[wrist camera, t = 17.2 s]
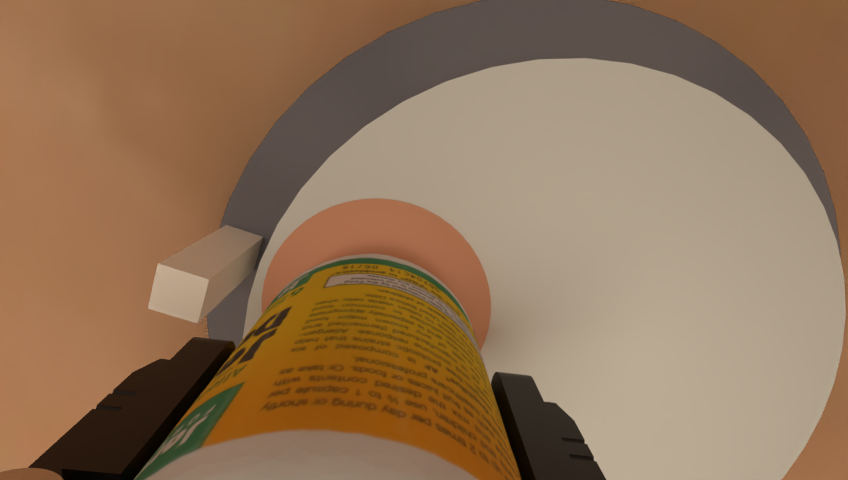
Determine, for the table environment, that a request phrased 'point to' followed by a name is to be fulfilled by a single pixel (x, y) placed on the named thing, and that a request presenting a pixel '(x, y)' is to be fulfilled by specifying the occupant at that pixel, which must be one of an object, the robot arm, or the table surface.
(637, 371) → the shallow cream dish
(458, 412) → the supplement bottle
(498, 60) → the turntable base
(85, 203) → the table surface
